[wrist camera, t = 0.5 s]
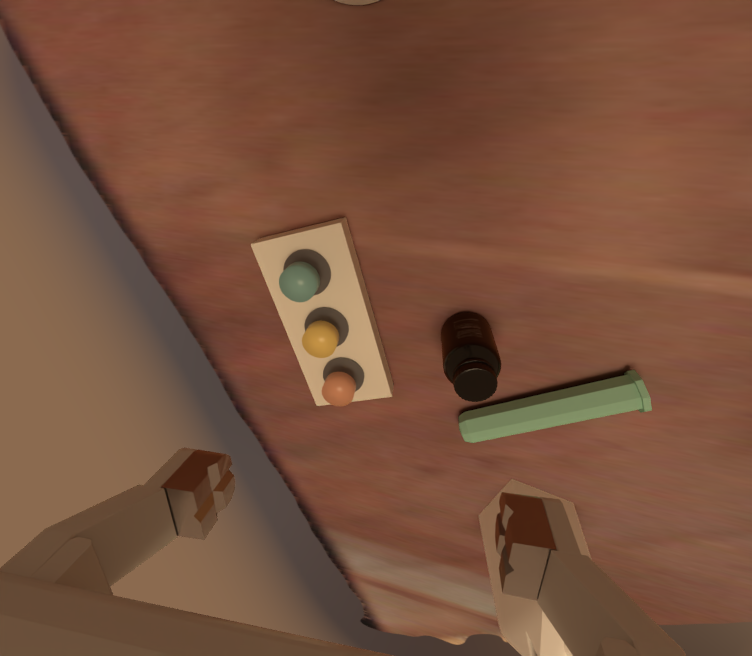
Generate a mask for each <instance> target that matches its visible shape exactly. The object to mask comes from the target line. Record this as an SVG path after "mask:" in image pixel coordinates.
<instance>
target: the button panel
mask: <svg viewBox="0 0 752 656" xmlns="http://www.w3.org/2000/svg"><path fill="white" fill-rule="evenodd" d="M251 247H252V249H253V252H254V254H255V256H256V259H257V261H258V264H259V266H260V269H261V271H262V274H263V276H264V278H265V281H266V283H267V286H268V288H269V291H270V293H271V295H272V298H273V300H274V303H275V305H276V308H277V310H278V313H279V315H280V317H281V320H282V322H283V325H284V327H285V330H286V332H287V334H288V337H289V339H290V342H291V344H292V347H293V349H294V352H295V354H296V356H297V359H298V361H299V364H300V366H301V369H302V371H303V373H304V376H305V378H306V381H307V383H308V386H309V388H310V391H311V393H312V395H313V398H314V400H315V403H316V405H317V406H321V405H329V404H330V403H328V402H327V401H326V400H325V399H324V398H323V396H322V387H323V385H324V382H325V380H326V378H327V376H328V375H329V374H331V373H333V372H344V373H347V374H349V375H350V376H351V377H352V378H353V379H354V380H355V383H356V390H355V393H354V397H353V400H352V401H351V402H353V401H361V400H369V399H377V398H385V397H392V393H393V385H394V384H393V380H392V377H391V373H390V370H389V366H388V363H387V359H386V356H385V352H384V349H383V345H382V342H381V338H380V335H379V331H378V328H377V324H376V321H375V317H374V314H373V310H372V307H371V303H370V300H369V296H368V293H367V289H366V286H365V282H364V279H363V275H362V272H361V268H360V265H359V261H358V258H357V254H356V251H355V247H354V244H353V240H352V237H351V233H350V230H349V226H348V223H347V219H346V217H344V218H340V219H336V220H332V221H328V222H324V223H320V224H316V225H312V226H308V227H303V228H299V229H295V230H291V231H287V232H283V233H279V234H275V235H271V236H267V237H263V238H260V239H258V240H256V241H255V242H253V243H252V244H251ZM300 261H301V262H306V263H308V264H310V265H312V266H313V267H314V268H315V269H316V270H317V272H318V274H319V277H320V285H319V288H318V289H317V291H316V292H315V294H314V295H313V297H312V298H311V299H309V300H308V301H305V302H294V301H292V300H290V299H288V298H287V297H286V296H285V295H284V294H283V293H282V291H281V289H280V287H279V277H280V275H281V273H282V272H283V271H284V270H285V269H286V268H287V267H288V266H289V265H290V264H292V263H294V262H300ZM315 321H326V322H329V323H331V324H332V325H334V326H335V327H336V329H337V330H338V333H339V342H338V344H337V347H336V349H335V351H334V353H333V354H332V355H330V356H329V357H326V358H317V357H314V356H312V355H310V354H309V353H307V352H306V350H305V349H304V347H303V345H302V337H303V335H304V333H305V331H306V330H307V328H308V326H309V325H310V324H311V323H313V322H315Z"/></svg>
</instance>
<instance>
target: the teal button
mask: <svg viewBox="0 0 752 656" xmlns="http://www.w3.org/2000/svg"><path fill="white" fill-rule="evenodd" d="M319 285H320V277H319V274H318V272H317V270H316V269H315V268H314V267H313V266H312V265H310V264H308V263H306V262H301V261H300V262H294V263H292V264H290V265H289V266H288V267H287V268H286V269H285V270H284V271H283V272H282V273H281V275H280V277H279V287H280V289H281V291H282V293H283V294H284V295H285V296H286V297H287V298H288V299H290V300H292V301H294V302H305V301H308V300H309V299H311V298H312V297H313V295H314V294H315V292H316V291H317V289H318V288H319Z"/></svg>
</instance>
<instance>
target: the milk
mask: <svg viewBox="0 0 752 656" xmlns="http://www.w3.org/2000/svg"><path fill="white" fill-rule="evenodd" d="M502 492H505V493H513V494H521V495H529V496H537V497H545V498H553V499H560V500H561V502H562V503H563V506H564V508H565V511H566V514H567V517H568V519H569V522H570V525H571V528H572V530H573V533H574V536H575V539H576V542H577V544H578V547H579V550H580V553H581V555H586V556H588V557H589V558H590V559H591V556H590V553H589V550H588V547H587V544H586V541H585V538H584V534H583V531H582V528H581V525H580V522H579V519H578V516H577V513H576V509H575V506H574V503H573V502H570V501H568V500H565V499H562V498H560V497H557V496H555V495H552V494H550V493H547V492H545V491H542V490H539V489H537V488H534V487H532V486H529V485H527V484H524V483H522V482H519V481H516V480H514V479H511V480H510V481H509V482H508V483H507V485H506V486H505V487H504V488H503V489H502V490H501V491H500V492H499V493H498V494H497V496H496V497H495V498H494V499H493V500H492V501H491V502H490V503H489V504H488V505H487V507H486V508H485V509H484V510H483V511H482V512H481V513H480V514H479V515H478V516H479V522H480V527H481V532H482V538H483V543H484V548H485V554H486V559H487V564H488V570H489V575H490V580H491V586H492V591H493V596H494V602H495V607H496V612H497V618H498V623H499V627H500V631H501V633H502V635H503V636H504V638H505V639H506V640H507V641H508V642H509V643H510V644H511V645H512V646H513V647H514V648H515V649H516V650H517V651H518V652H519V653H520V654H521V655H522V656H573V655H572V654H571V652H570V651H569V649H568V648H567V646H566V645H565V643H564V642H563V640H562V639H561V637H560V636H559V634H558V633H557V631H556V630H555V628H554V627H553V625H552V624H551V622H550V621H549V619H548V618H547V616H546V615H545V613H544V612H543V610H542V609H541V607H540V606H539V604H538V603H537V601H536V600H532V599H527V598H522V597H517V596H513V595H508V594H503V593H502V587H501V580H500V573H499V564H500V558H501V557H500V555H499V554H498V553H497V551H496V542H495V524H496V517H497V514H498V513H500V506H499V500H500V495H501V493H502Z"/></svg>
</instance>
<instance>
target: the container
mask: <svg viewBox="0 0 752 656" xmlns="http://www.w3.org/2000/svg"><path fill="white" fill-rule="evenodd" d="M633 410H639V411H640V412H646V411H651V410H652V407H651V400H650V396H649V394H648V391H647V389H646V387H645V384H644V382H643V380H642V379H641V377H640V376H639V375H638V374H637V372H636V371H635V370H630V371H627V372H625V373H624V375H623V376H619V377H615V378H610V379H606V380H602V381H597V382H593V383H588V384H584V385H580V386H575V387H571V388H567V389H562V390H558V391H554V392H549V393H545V394H540V395H536V396H532V397H527V398H523V399H519V400H514V401H510V402H506V403H501V404H497V405H492V406H488V407H484V408H479V409H475V410H471V411H466V412H464V413H462V414H461V415H460V416H458V417H459V430H460V432H461V434H462V436H463V438H464V440H465V441H466V442H471V443H475V442H479V441H484V440H489V439H494V438H499V437H504V436H509V435H514V434H519V433H524V432H529V431H534V430H539V429H544V428H549V427H554V426H559V425H564V424H569V423H574V422H579V421H584V420H589V419H594V418H599V417H604V416H609V415H614V414H618V413H623V412H628V411H633Z"/></svg>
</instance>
